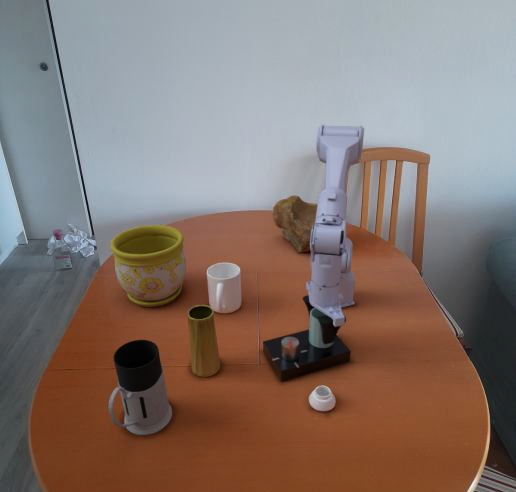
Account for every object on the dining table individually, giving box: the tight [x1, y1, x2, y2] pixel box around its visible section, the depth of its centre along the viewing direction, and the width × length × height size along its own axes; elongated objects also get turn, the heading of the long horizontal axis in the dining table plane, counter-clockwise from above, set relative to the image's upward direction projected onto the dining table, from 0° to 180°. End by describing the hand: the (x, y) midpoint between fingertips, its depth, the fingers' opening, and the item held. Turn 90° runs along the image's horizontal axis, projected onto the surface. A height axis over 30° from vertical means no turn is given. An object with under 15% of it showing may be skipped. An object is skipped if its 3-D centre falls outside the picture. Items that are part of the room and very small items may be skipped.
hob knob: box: [281, 337, 299, 361], centre depth 92 cm, size 4×4×4 cm
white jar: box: [308, 385, 337, 412], centre depth 84 cm, size 5×3×5 cm
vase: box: [187, 304, 221, 378], centre depth 91 cm, size 6×6×14 cm
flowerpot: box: [109, 224, 187, 308], centre depth 116 cm, size 18×18×16 cm
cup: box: [308, 308, 334, 348], centre depth 95 cm, size 5×5×7 cm
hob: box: [262, 329, 352, 382], centre depth 96 cm, size 16×10×3 cm, turn 111°
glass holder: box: [108, 339, 173, 436], centre depth 77 cm, size 9×14×15 cm, turn 167°
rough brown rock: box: [272, 195, 318, 254], centre depth 140 cm, size 23×17×15 cm
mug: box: [206, 262, 243, 314], centre depth 110 cm, size 12×8×10 cm
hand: (322, 334), depth 96 cm, fingers closed on cup, 5 cm apart
